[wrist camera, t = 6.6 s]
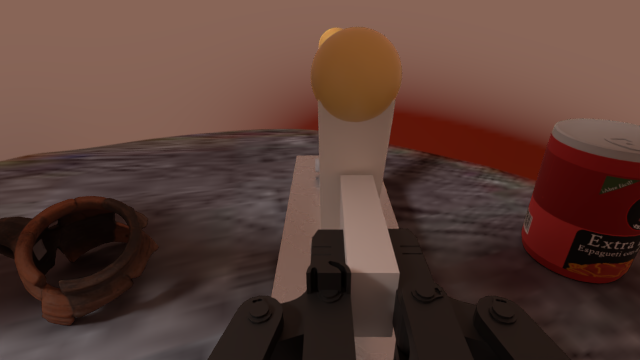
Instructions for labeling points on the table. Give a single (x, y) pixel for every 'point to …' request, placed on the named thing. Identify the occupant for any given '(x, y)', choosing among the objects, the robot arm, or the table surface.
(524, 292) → the table surface
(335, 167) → the toggle
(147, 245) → the pottery mug
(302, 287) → the switch box
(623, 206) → the canned food
